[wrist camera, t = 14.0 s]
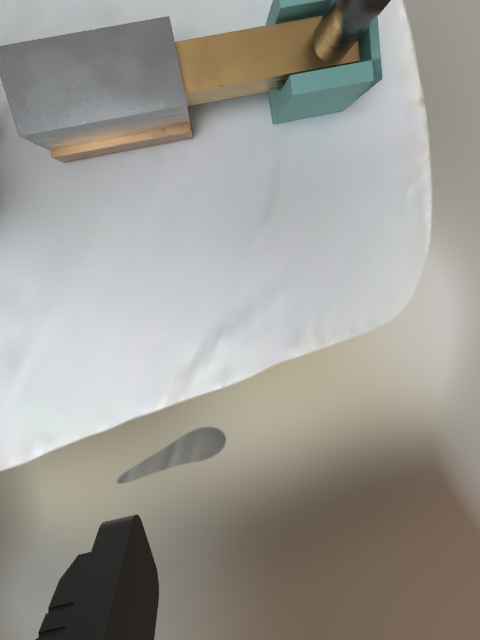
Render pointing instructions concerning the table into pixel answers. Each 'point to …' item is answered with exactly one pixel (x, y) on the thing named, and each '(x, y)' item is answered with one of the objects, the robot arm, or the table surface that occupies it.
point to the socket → (323, 70)
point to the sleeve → (97, 90)
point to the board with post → (273, 52)
